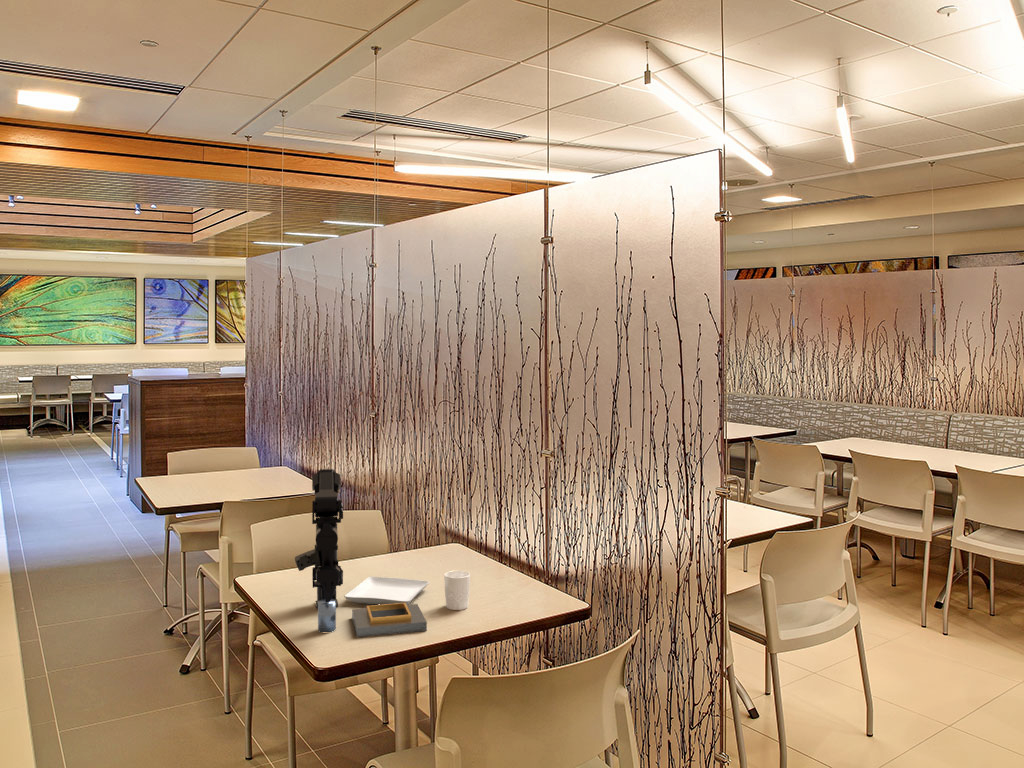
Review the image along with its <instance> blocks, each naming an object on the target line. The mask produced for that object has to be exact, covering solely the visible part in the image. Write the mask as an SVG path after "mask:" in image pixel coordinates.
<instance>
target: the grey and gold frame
mask: <svg viewBox="0 0 1024 768" xmlns="http://www.w3.org/2000/svg"><path fill="white" fill-rule="evenodd" d="M351 615H352V616H351V619H352V624H353V626H354V627H355V628H354V631H355V635H356V638H365V637H375V636H385V635H386V636H387V635H396V634H398V635H399V634H406V633H409V634H410V633H418V632H419V633H420V632H427V631H428V630H427V624H428V623H427V622H428V621H427V620H426V618H425V616H424V614H423V612H422V610H421V608H420V606H419V605H418V603H414V604H408V605H406V603H395V604H383V605H373V604H370V605H366V608H365V607H364V608H356V609H354V608H353V609H351Z"/></svg>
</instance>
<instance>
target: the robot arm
mask: <svg viewBox="0 0 1024 768" xmlns="http://www.w3.org/2000/svg"><path fill="white" fill-rule="evenodd" d="M311 477H312V479H311V480H312V481H311V483H312V485H311V486H312V487H311V488H312V490H311V491H314V500H312V501H311V503H312V504H311V505H312V507H311V508H312V509H311V510H312V511H311V513H312V514H311V516H312V517H311V521H312V522H311V524H312V525H315V544H314V548H313V549H311V550H308V551H305V552H303V553H300V554H299V555H295V556H294V562H295V564H296V567H297V569H298V571H299V572H302V571H304V570H305V569H307V568H309V567H311V566H313V565H314V566H313V567H312V573H311V574H312V578H311V579H312V588H316V600H315V602H316V603H315V608H316V609H318V601H320V600H323V599H325V601H326V602H330V600H331V599H334V600H336V608H337V607H339V602H338V599H337V587H341V585H343V583H344V570H343V568H341V567H342V566H341V565H339V559H338V550H339V546H338V540H339V537H338V524H339V523H342V520H343V519H344V503H343V502H342V499H339V491H340V490H341V474H340V473H338V472H336V471H335V469H334V468H320V469H317V472H315V474H313V475H312V476H311Z"/></svg>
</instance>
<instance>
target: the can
mask: <svg viewBox="0 0 1024 768" xmlns="http://www.w3.org/2000/svg"><path fill="white" fill-rule="evenodd" d="M336 613H337V607H336V600H334V599H331V600H330V602H326V601H325V599H323V600H320V601H318V608H317V631H320V632H331V633H333V632H332V631H334V630H335V629H336V628H337V627H336V626H337V617H336V616H337V614H336ZM336 630H337V629H336ZM336 630H335V631H336ZM335 631H334V632H335ZM320 632H319V633H320Z"/></svg>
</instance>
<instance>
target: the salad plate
mask: <svg viewBox="0 0 1024 768" xmlns="http://www.w3.org/2000/svg"><path fill="white" fill-rule="evenodd" d="M429 584H430V581H429V580H422V579H421V580H420V579H409V578H401V577H399V578H398V577H387V576H386V577H385V576H384V577H383V576H368V577H367V578H365V579H364V580H363V581H361V582H360V583H358V585H357V586H355V587H354V588H353V589H351V590H350V591H348V592H347V593H346V594H345V595H343V596H344V598H345V599H346V600H347V601H349V602H352V603H355V604H356V603H357V604H361V603H366V604H365V605H373V604H380V605H383V604H395V603H406V605H410V604H411V602H412V601H413V600H414V598H416V597H417V596H418V595H419V594H420V593H421V592H422V591H424V590H425V588H426V587H427V586H428V585H429Z"/></svg>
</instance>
